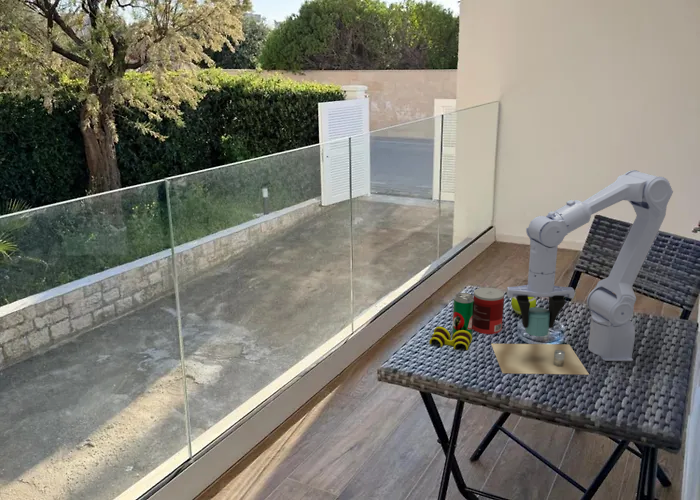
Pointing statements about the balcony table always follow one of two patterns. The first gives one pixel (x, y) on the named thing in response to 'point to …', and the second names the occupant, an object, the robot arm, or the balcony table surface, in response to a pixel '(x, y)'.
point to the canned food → (488, 310)
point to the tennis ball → (516, 305)
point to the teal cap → (538, 321)
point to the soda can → (463, 313)
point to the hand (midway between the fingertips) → (537, 326)
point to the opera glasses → (457, 337)
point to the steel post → (559, 358)
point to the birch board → (536, 359)
